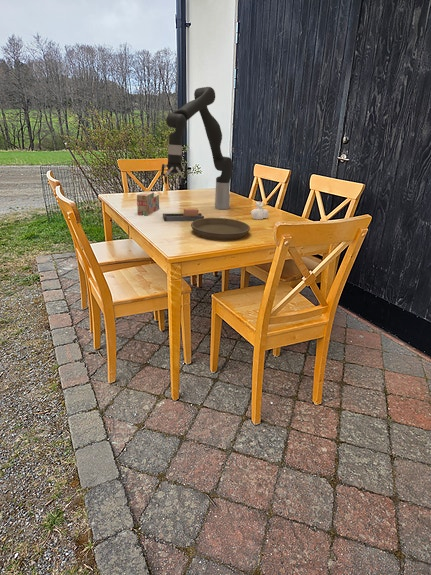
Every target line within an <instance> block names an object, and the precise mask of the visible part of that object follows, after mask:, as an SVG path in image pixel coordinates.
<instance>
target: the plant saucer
mask: <svg viewBox="0 0 431 575" xmlns="http://www.w3.org/2000/svg"><path fill="white" fill-rule="evenodd" d="M250 226H251V225H249V224H247V223H246V222H244V221H241V220H238V219H232V218H225V217H224V218H223V217H207V218H206V217H204V218H203V219H198V220H195V221H191V223H190V227H191V229H192V230H193V231H194V232H195V234H196V235H198V236H199V237H202V238H204V239H210V240H217V241H218V240H219V241H232V239H233V240H238V238H239V239H241V237H242V238H243V237H245V235H246V234H248V233H249V232H250V230H251V227H250Z"/></svg>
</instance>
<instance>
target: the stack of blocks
mask: <svg viewBox="0 0 431 575" xmlns="http://www.w3.org/2000/svg"><path fill="white" fill-rule="evenodd" d="M136 205H137V216H143V215H144V216H145V217H147V216H149V215H152V214H153V213H154V212H156V211H158V210H160V195H159V194H155V192H154V191H142V192H140V193H137V195H136ZM144 216H143V217H144Z"/></svg>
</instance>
